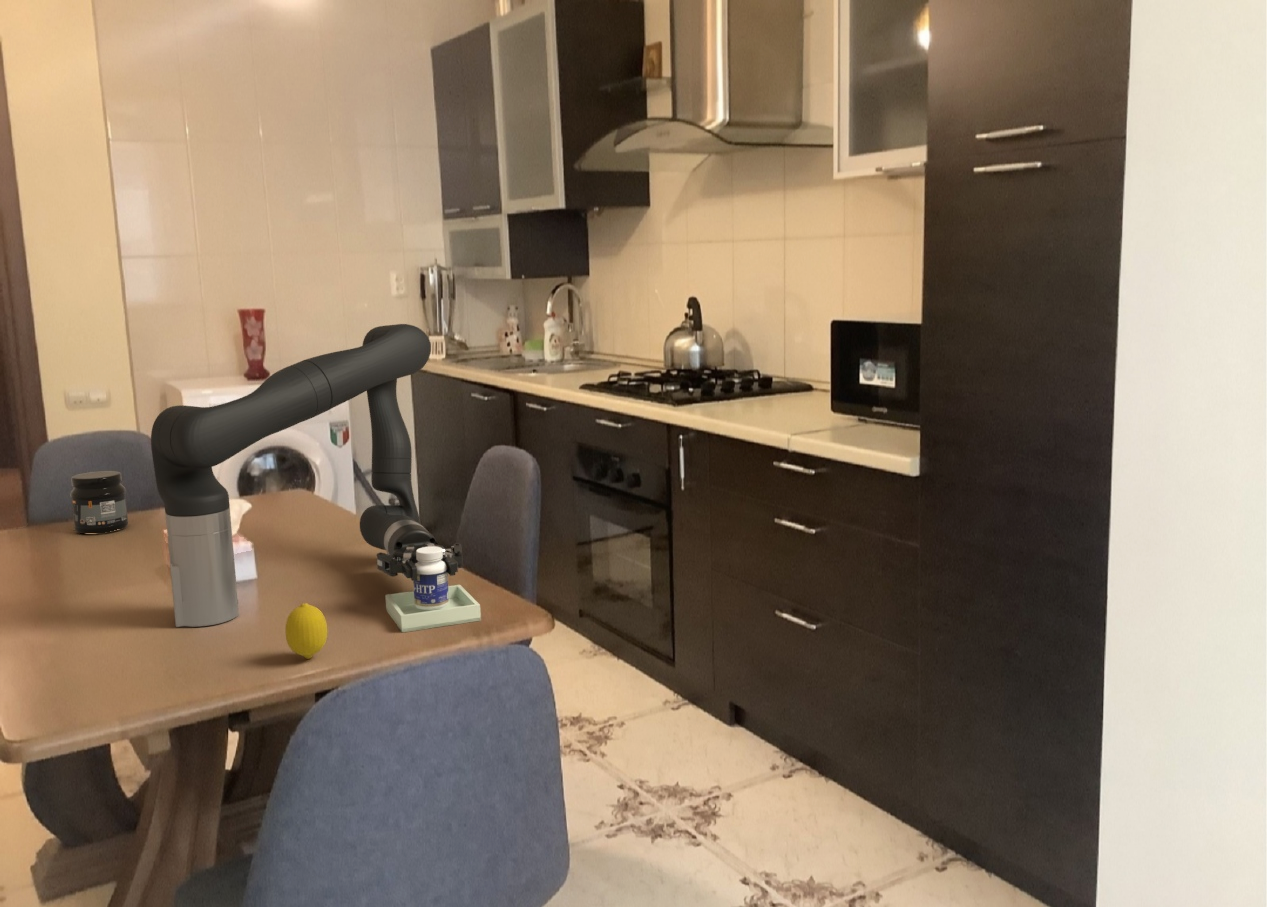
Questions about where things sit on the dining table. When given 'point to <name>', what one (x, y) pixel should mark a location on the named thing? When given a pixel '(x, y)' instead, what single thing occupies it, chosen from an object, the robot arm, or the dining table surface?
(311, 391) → the robot arm
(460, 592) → the tray
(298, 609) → the lemon
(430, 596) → the pill bottle
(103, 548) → the dining table surface
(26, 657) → the dining table surface
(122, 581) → the dining table surface
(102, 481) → the supplement container
